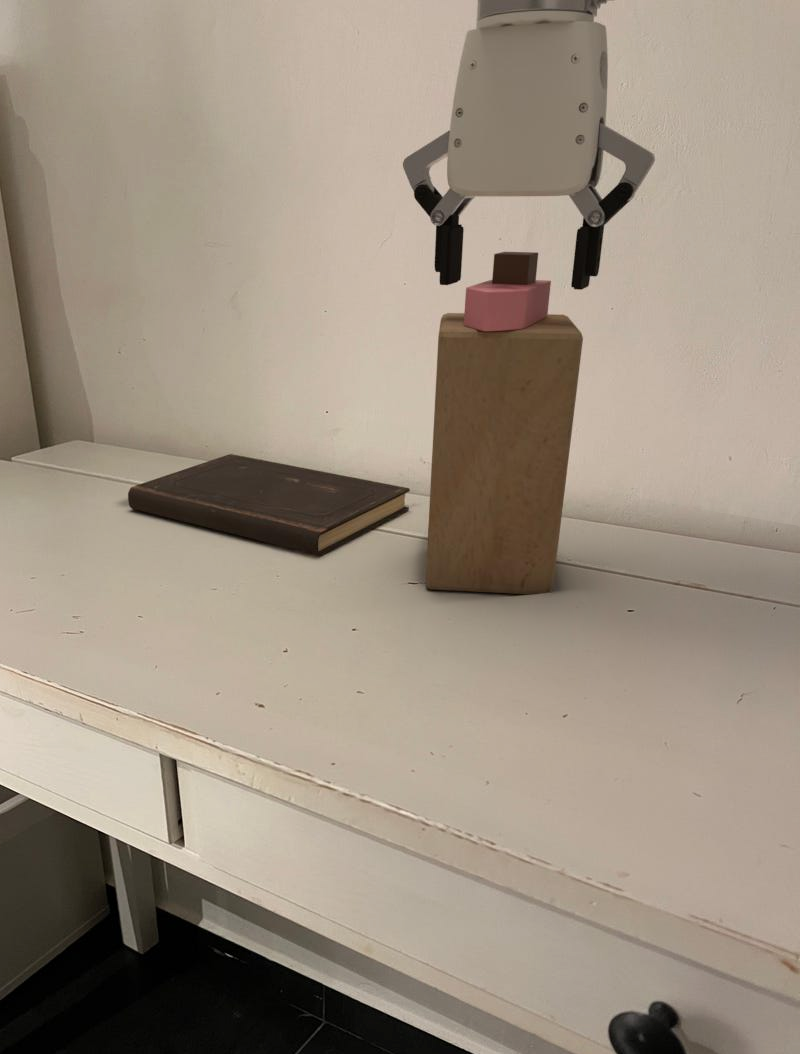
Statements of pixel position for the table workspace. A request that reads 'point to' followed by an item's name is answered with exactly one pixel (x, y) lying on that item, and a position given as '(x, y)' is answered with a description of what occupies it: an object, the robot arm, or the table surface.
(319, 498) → the hardcover book
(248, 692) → the table surface
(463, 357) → the wooden block
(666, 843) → the table surface
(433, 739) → the table surface
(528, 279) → the pink and brown blocks
